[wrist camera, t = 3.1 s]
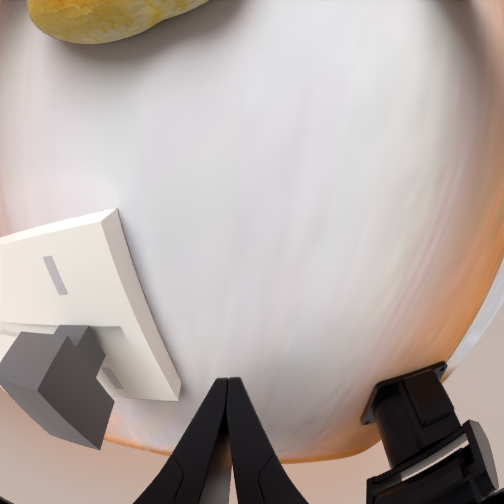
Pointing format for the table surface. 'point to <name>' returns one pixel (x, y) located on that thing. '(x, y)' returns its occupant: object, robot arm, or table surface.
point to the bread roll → (102, 17)
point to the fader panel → (86, 300)
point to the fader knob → (60, 383)
